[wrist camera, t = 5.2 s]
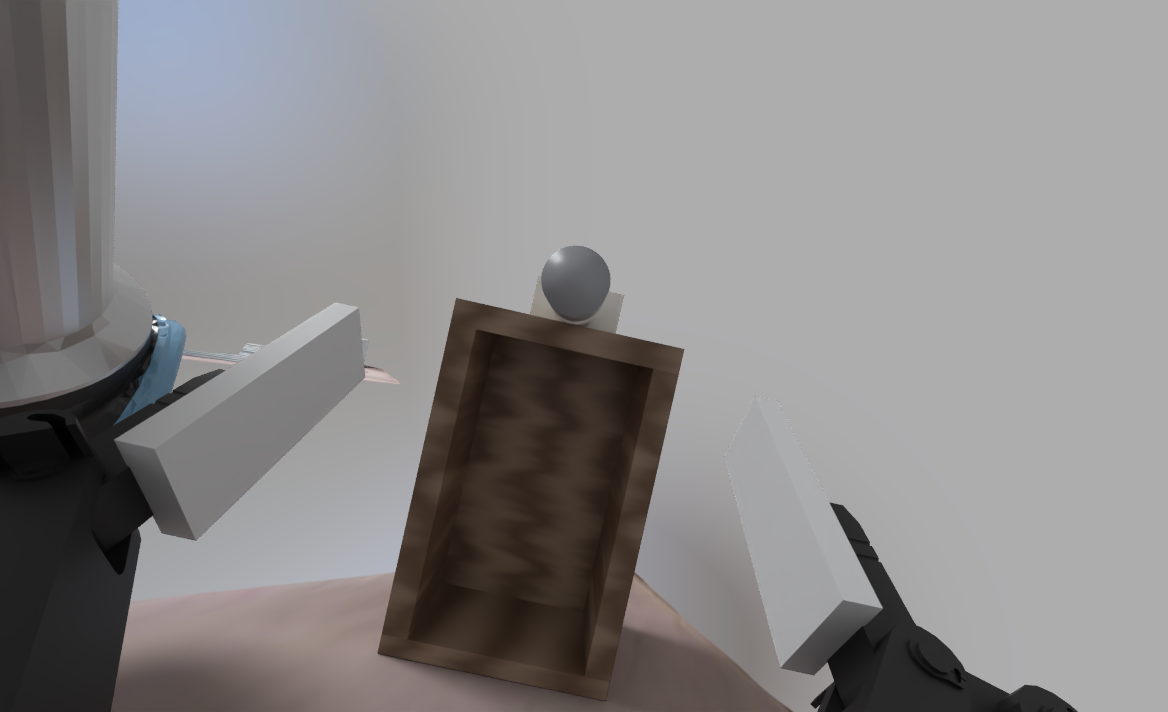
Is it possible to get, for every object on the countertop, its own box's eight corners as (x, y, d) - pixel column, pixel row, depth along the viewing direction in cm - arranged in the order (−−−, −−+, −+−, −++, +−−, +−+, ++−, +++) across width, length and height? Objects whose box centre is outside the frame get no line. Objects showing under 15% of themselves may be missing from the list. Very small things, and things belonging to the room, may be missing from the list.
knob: (635, 329, 24) (650, 261, 24) (500, 299, 24) (515, 231, 24) (611, 339, 42) (619, 300, 42) (533, 322, 42) (542, 283, 42)
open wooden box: (377, 653, 32) (456, 298, 32) (425, 581, 42) (485, 311, 42) (605, 700, 32) (684, 349, 32) (598, 618, 42) (659, 349, 42)
